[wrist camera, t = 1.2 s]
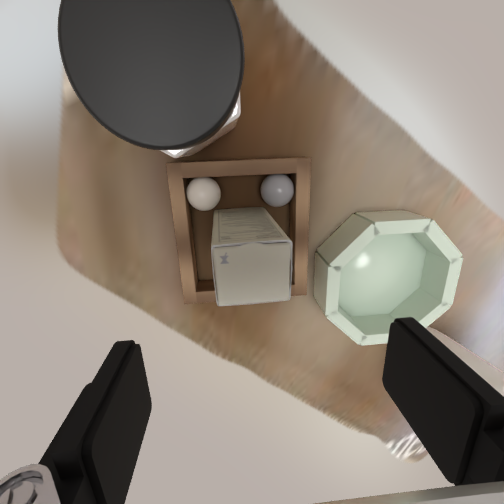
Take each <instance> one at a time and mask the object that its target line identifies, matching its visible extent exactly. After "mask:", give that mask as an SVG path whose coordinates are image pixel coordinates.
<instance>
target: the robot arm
mask: <svg viewBox="0 0 504 504" xmlns="http://www.w3.org/2000/svg"><path fill="white" fill-rule="evenodd" d="M382 380H383V385H384V387H385V389H386V391H387V392H388V394H389V395H390V397H391V398H392V400H393V401H394V403H395V404H396V406H397V407H398V408H399V410H400V411H401V413H402V414H403V416H404V417H405V419H406V420H407V422H408V423H409V425H410V426H411V428H412V429H413V431H414V432H415V434H416V435H417V437H418V438H419V439H420V441H421V442H422V444H423V445H424V447H425V448H426V450H427V451H428V453H429V454H430V455H431V457H432V459H433V460H434V462H435V463H436V465H437V466H438V468H439V469H440V470H441V472H442V473H443V475H444V476H445V478H446V479H447V480H448V481H449V482H450V483H454V484H455V486H452V487H444V488H435V489H427V490H419V491H411V492H403V493H395V494H387V495H379V496H370V497H363V498H355V499H347V500H339V501H331V502H323V503H315V504H504V396H502V395H501V394H500V393H499V392H498V391H497V390H496V389H494V388H493V387H492V386H491V385H490V384H489V383H488V382H486V381H485V380H484V379H483V378H482V377H481V376H480V375H478V374H477V373H476V372H475V371H474V370H473V369H472V368H470V367H469V366H468V365H467V364H466V363H465V362H464V361H462V360H461V359H460V358H459V357H458V356H457V355H456V354H454V353H453V352H452V351H451V350H450V349H449V348H448V347H446V346H445V345H444V344H443V343H442V342H441V341H440V340H438V339H437V338H436V337H435V336H434V335H433V334H432V333H430V332H429V331H428V330H427V329H426V328H425V327H424V326H422V325H421V324H420V323H419V322H418V321H417V320H416V319H414V318H413V317H404V318H396V319H395V320H394V322H392V323H391V324H390V329H389V336H388V343H387V350H386V357H385V364H384V370H383V377H382ZM151 404H152V403H151V397H150V392H149V387H148V382H147V377H146V372H145V367H144V362H143V358H142V352H141V347H140V345H139V344H135V342H134V341H133V340H130V341H117V342H116V343H115V344H114V345H113V347H112V349H111V350H110V352H109V354H108V356H107V357H106V359H105V361H104V362H103V364H102V366H101V368H100V369H99V371H98V373H97V375H96V376H95V378H94V379H93V381H92V383H89V384H88V385H86V386H85V388H84V389H83V390H82V392H81V394H80V395H79V397H78V399H77V400H76V402H75V404H74V406H73V407H72V409H71V410H70V412H69V414H68V415H67V417H66V419H65V420H64V422H63V424H62V425H61V427H60V429H59V430H58V432H57V434H56V435H55V437H54V439H53V440H52V442H51V444H50V445H49V447H48V449H47V450H46V452H45V453H44V455H43V457H42V459H41V460H40V462H39V463H38V464H31V465H28V466H25V467H21V468H19V469H17V470H15V471H13V472H11V473H9V474H8V475H6V476H5V477H4V478H2V479H1V480H0V504H124V503H125V500H126V496H127V493H128V489H129V486H130V482H131V479H132V476H133V472H134V469H135V465H136V461H137V458H138V455H139V451H140V448H141V444H142V441H143V437H144V434H145V431H146V427H147V423H148V420H149V417H150V413H151V406H152V405H151Z"/></svg>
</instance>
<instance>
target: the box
mask: <svg viewBox="0 0 504 504" xmlns="http://www.w3.org/2000/svg"><path fill="white" fill-rule="evenodd" d="M292 247H293V243H292V241H291V240H290V239H289V237H288V236H287V235H286V234H285V233H284V231H283V230H282V229H281V228H280V226H279V225H278V224H277V223H276V221H275V220H274V219H273V218H272V217H271V215H270V214H269V213H268V211H267V210H266V209H265V208H264V207H248V208H232V209H220V210H214V215H213V230H212V242H211V255H212V268H213V278H214V287H215V294H216V302H217V305H218V306H232V305H245V304H257V303H267V302H277V301H287V300H290V298H291V281H292Z"/></svg>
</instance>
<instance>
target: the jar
mask: <svg viewBox="0 0 504 504" xmlns="http://www.w3.org/2000/svg"><path fill="white" fill-rule="evenodd" d="M58 41H59V48H60V53H61V58H62V62H63V65H64V68H65V71H66V74H67V76H68V79H69V81H70V83H71V85H72V87H73V89H74V91H75V93H76V95H77V96H78V98H79V99H80V101H81V102H82V104H83V105H84V106H85V108H86V109H87V110H88V111H89V113H90V114H91V115H92V116H93V117H94V118H95V119H96V120H97V121H98V122H99V123H100V124H101V125H102V126H104V127H105V128H106V129H107V130H109V131H110V132H111V133H113V134H114V135H116V136H117V137H119V138H121V139H123V140H125V141H127V142H129V143H131V144H134V145H137V146H140V147H143V148H147V149H153V150H160V151H162V152H164V153H166V154H167V155H169V156H171V157H173V158H179V157H185V156H191V155H194V154H196V153H197V152H199V151H200V150H202V149H203V148H205V147H206V146H208V145H209V144H211V143H212V142H214V141H215V140H217V139H219V138H220V137H222V136H223V135H225V134H226V133H228V132H229V131H231V130H232V129H234V128H235V126H236V124H237V121H238V119H239V117H240V114H241V106H240V89H241V85H242V80H243V74H244V61H245V58H244V43H243V36H242V31H241V27H240V23H239V20H238V17H237V14H236V12H235V9H234V7H233V5H232V2H231V0H61V4H60V8H59V17H58Z"/></svg>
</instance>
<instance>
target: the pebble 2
mask: <svg viewBox="0 0 504 504" xmlns="http://www.w3.org/2000/svg"><path fill="white" fill-rule="evenodd" d="M293 194H294V185H293V182H292V180H291V179H290V178H289V177H288V176H287V175H285V174H270V175H269V176H267V177H266V178H265V179H264V181H263V182H262V185H261V195H262V198H263V200H264V201H265V202H266V203H267V204H269V205H270V206H273V207H281V206H284V205H286V204H287V203H288V202H290V200H291V199H292V197H293Z"/></svg>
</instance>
